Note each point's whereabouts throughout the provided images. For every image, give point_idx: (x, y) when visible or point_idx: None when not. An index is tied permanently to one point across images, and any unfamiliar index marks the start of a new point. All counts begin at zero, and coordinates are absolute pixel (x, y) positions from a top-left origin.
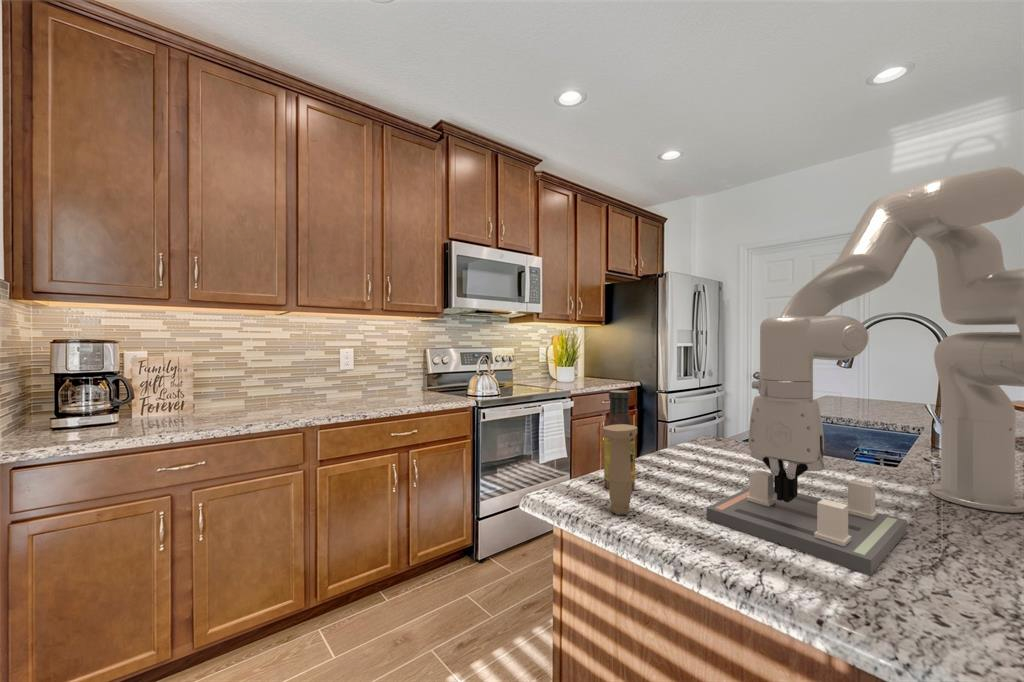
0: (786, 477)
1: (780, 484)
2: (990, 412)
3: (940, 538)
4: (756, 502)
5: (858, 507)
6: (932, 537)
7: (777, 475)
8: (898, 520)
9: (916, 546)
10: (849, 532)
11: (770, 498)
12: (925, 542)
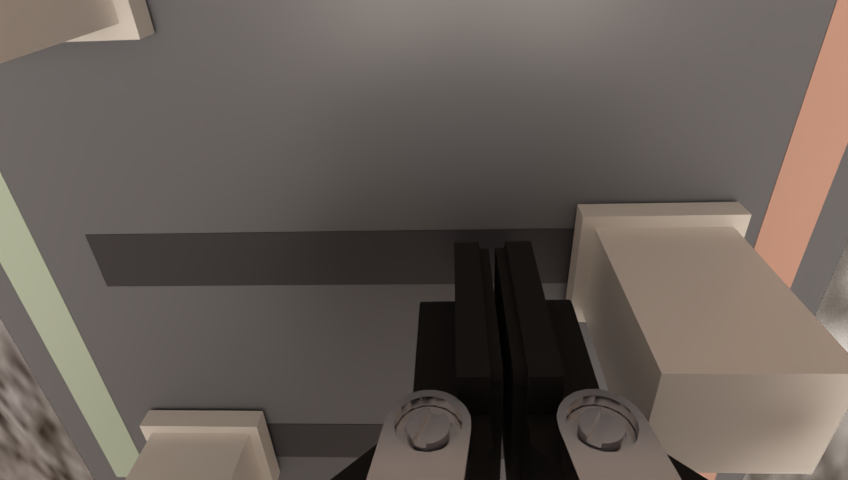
0: (479, 407)
1: (520, 327)
2: None
3: (57, 468)
4: (667, 205)
5: (193, 453)
6: (72, 461)
7: (573, 411)
8: (110, 471)
9: None
10: (89, 176)
11: (592, 278)
12: (49, 409)
